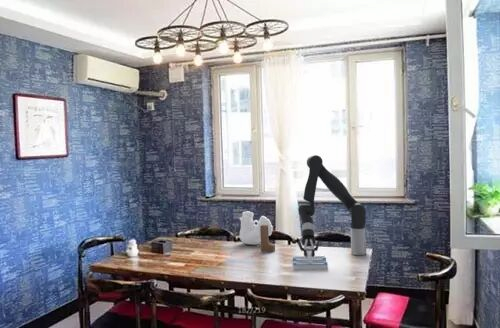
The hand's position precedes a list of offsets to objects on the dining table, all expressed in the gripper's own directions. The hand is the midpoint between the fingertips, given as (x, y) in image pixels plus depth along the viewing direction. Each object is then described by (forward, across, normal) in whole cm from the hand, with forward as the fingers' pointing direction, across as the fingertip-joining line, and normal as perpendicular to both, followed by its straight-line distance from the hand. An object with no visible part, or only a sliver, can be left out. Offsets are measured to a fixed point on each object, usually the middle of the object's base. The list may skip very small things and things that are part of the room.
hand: (309, 256), depth 246 cm
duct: (0, 0, +10) cm, 10 cm away
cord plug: (+2, 0, +5) cm, 5 cm away
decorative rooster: (-37, -37, +47) cm, 70 cm away
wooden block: (-23, -27, +33) cm, 48 cm away
